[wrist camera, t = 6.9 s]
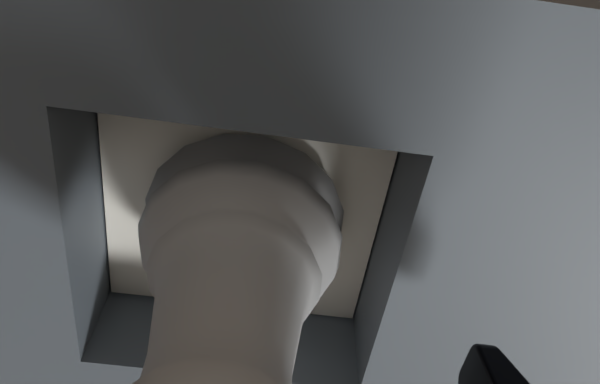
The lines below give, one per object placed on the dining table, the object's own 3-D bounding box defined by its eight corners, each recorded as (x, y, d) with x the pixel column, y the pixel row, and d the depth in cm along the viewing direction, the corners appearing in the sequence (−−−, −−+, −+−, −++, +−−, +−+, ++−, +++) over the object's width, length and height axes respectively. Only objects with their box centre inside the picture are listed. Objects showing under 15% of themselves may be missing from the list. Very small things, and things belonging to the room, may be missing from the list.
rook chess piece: (140, 258, 14) (-16, 664, 7) (162, 99, 11) (-44, 493, 5) (313, 293, 14) (314, 699, 8) (369, 149, 12) (438, 562, 5)
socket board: (750, 0, 10) (858, 47, 8) (520, 394, 17) (548, 474, 15) (-266, -154, 9) (-431, -144, 7) (-85, 331, 16) (-143, 408, 14)
